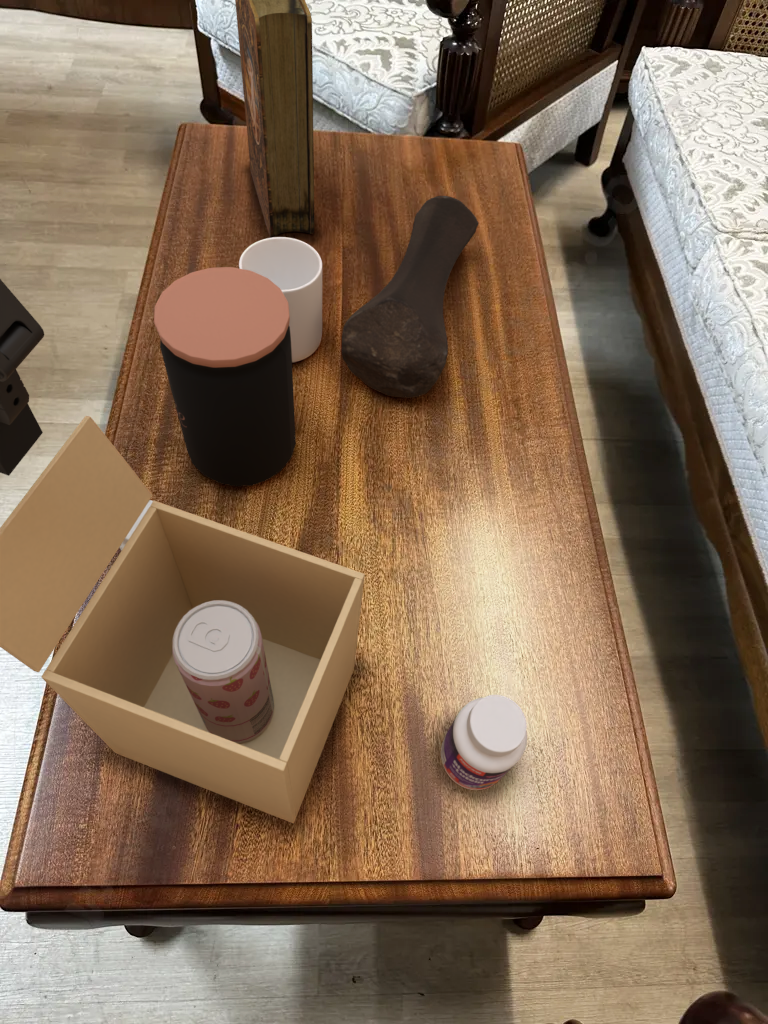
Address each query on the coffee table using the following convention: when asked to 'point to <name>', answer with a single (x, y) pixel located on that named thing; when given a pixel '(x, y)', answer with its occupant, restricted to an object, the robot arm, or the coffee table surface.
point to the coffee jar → (230, 372)
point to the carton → (156, 678)
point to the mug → (292, 286)
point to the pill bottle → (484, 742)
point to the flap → (63, 541)
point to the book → (279, 109)
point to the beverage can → (225, 669)
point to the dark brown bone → (411, 307)
